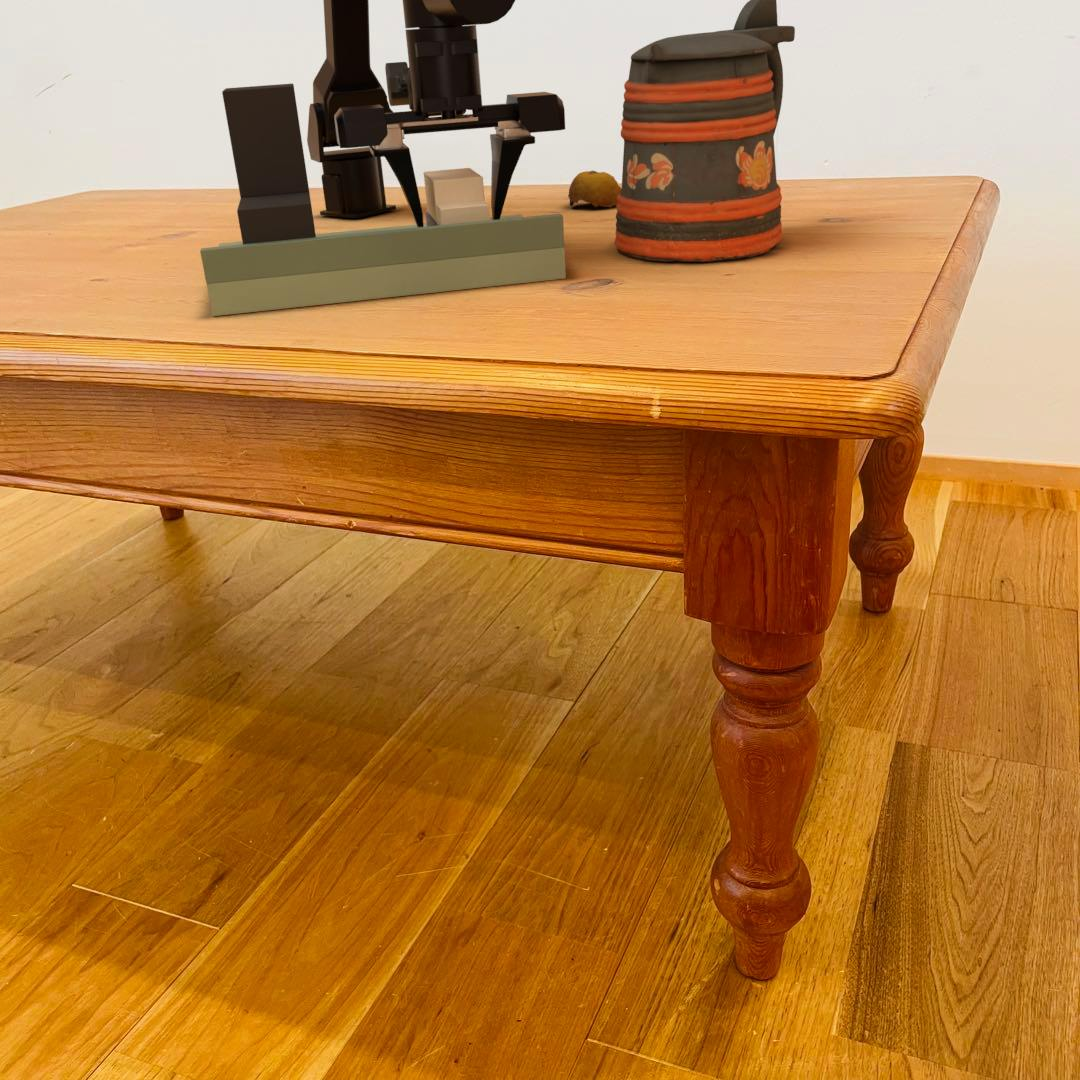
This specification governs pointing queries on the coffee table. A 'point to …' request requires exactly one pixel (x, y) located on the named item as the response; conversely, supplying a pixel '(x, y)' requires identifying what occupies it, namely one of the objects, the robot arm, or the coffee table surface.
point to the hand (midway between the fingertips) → (458, 225)
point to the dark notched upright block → (269, 163)
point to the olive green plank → (383, 263)
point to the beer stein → (703, 143)
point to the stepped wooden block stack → (455, 197)
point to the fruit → (594, 189)
